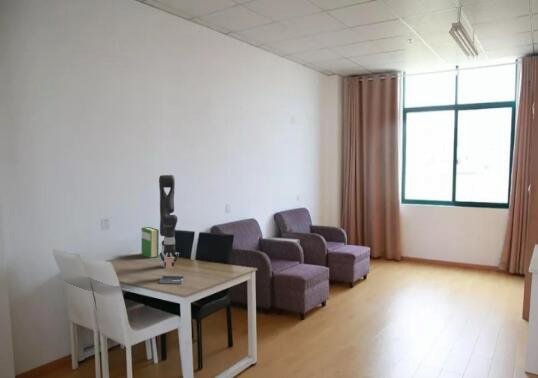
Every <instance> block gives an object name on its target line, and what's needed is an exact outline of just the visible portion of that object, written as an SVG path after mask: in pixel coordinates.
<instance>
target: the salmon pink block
mask: <svg viewBox="0 0 538 378" xmlns="http://www.w3.org/2000/svg"><path fill="white" fill-rule="evenodd" d="M173 267H174V266H173ZM173 267H172V259H171V257H168V258H167V259H166V268H165V269H166V270H167V269H169V270H170V269H171V270H172V269H173Z"/></svg>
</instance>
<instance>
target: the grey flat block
mask: <svg viewBox="0 0 538 378" xmlns="http://www.w3.org/2000/svg"><path fill="white" fill-rule="evenodd" d="M158 282H159V283H158V284H166V285H167V284H168V285H169V284H171V285H172V284H174V285H182V284H183V282H185V276H184V275H162V277H161V278H160V279H159V281H158Z"/></svg>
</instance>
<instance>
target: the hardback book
mask: <svg viewBox="0 0 538 378" xmlns="http://www.w3.org/2000/svg"><path fill="white" fill-rule="evenodd" d="M159 235H160V229H158V228H154V227H151V226H147V227H146V226H144V227H141V256H144V257H146V258H148V257H149V259H152V258H159V251H160V250H159V249H160V248H159V238H160V237H159Z"/></svg>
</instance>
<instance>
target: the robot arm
mask: <svg viewBox="0 0 538 378" xmlns="http://www.w3.org/2000/svg"><path fill="white" fill-rule="evenodd" d="M175 179H176V178H175V176H174V175H173V174H163V175H160V176H159V178H158V187H159V218H160V219H159V235H160V236H161V237H164V238H163V240H162V241H161V252H159V256H160V259H161V268H165V269H166V259H167V258H168V257H171V259H172V267H175V262H177V261H178V258H179V256H180V252H177V251H176V238H175V237H176V227H177V225H178V224H177V223H178V216H177V214H172V213H174V212H175V200H174V199H175V187H176V186H175V185H176V183H175ZM167 188H169V192H168V193H167V192H166V191H165V189H167ZM174 255H175V256H174Z"/></svg>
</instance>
